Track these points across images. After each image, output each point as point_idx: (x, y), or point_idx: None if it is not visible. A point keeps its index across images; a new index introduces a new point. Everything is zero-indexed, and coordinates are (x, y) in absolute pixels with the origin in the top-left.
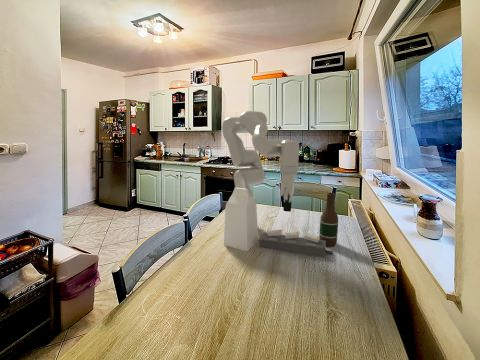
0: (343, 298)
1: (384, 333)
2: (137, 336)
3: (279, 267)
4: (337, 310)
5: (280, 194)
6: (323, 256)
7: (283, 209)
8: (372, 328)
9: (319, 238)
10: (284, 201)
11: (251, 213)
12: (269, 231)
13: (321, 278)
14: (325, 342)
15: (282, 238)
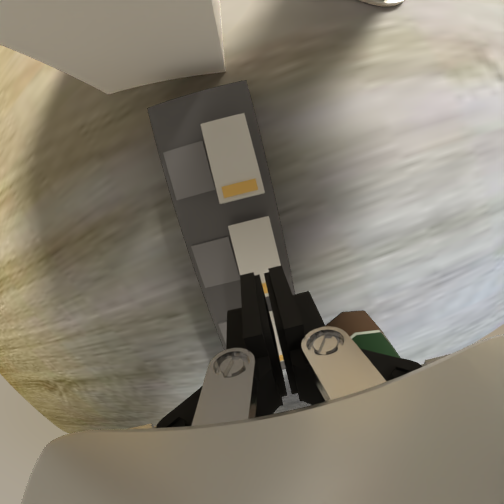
0: (93, 400)
1: (77, 428)
2: None
3: (80, 263)
4: (62, 392)
5: (35, 464)
6: None
7: (241, 280)
8: (72, 421)
9: (347, 323)
10: (209, 375)
11: (86, 11)
12: (231, 122)
13: (118, 367)
14: (12, 378)
15: (228, 207)
